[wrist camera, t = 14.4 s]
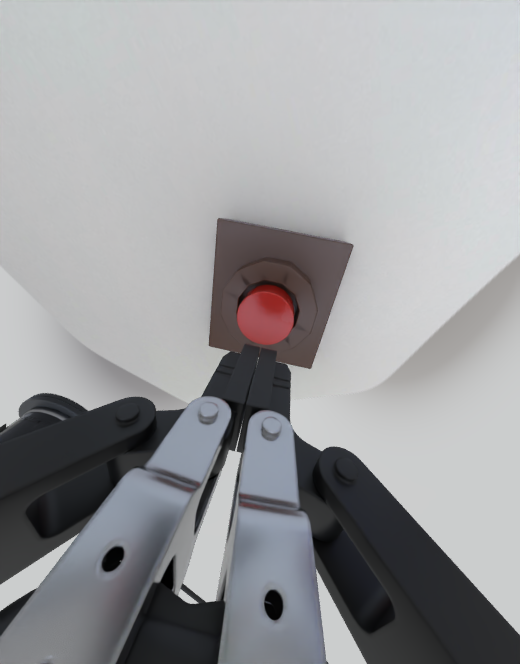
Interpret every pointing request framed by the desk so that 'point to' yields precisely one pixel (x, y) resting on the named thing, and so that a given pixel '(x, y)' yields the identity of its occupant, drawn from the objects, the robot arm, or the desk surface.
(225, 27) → the desk surface
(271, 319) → the power button
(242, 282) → the button housing
